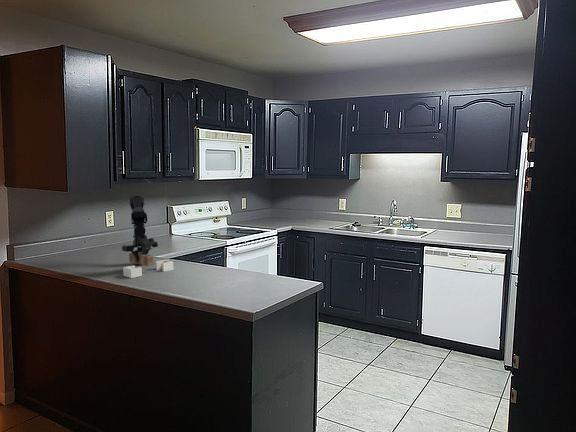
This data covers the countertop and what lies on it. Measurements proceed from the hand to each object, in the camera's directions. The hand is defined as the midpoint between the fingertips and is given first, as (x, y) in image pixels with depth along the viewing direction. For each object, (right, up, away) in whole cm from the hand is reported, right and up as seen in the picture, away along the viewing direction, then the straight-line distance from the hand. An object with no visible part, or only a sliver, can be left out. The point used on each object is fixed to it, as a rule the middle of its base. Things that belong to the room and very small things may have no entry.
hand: (141, 261), depth 255 cm
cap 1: (-1, -7, -11) cm, 12 cm away
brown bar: (0, -1, 0) cm, 1 cm away
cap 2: (+12, -5, +3) cm, 13 cm away
